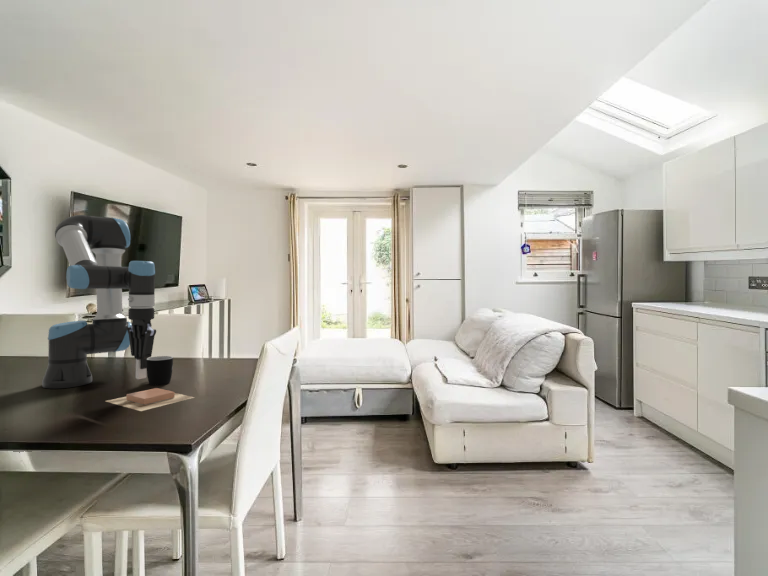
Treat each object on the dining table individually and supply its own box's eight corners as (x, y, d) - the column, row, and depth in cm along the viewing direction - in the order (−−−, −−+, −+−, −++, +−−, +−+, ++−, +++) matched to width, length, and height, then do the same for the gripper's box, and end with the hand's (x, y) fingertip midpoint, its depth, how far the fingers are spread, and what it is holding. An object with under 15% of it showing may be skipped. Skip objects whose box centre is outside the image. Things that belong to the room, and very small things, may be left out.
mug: (176, 384, 161) (176, 358, 161) (151, 388, 155) (151, 361, 155) (164, 379, 170) (164, 354, 170) (139, 383, 163) (140, 356, 163)
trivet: (104, 403, 136) (104, 401, 136) (158, 391, 152) (158, 389, 152) (140, 413, 126) (140, 411, 126) (194, 399, 142) (194, 397, 142)
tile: (126, 394, 137) (144, 398, 132) (156, 387, 146) (174, 391, 141) (126, 400, 137) (144, 405, 132) (156, 393, 146) (174, 398, 141)
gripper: (118, 306, 142) (118, 377, 142) (141, 309, 135) (141, 383, 136) (141, 305, 148) (140, 373, 149) (164, 307, 142) (163, 378, 142)
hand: (141, 378), depth 142 cm, fingers closed
